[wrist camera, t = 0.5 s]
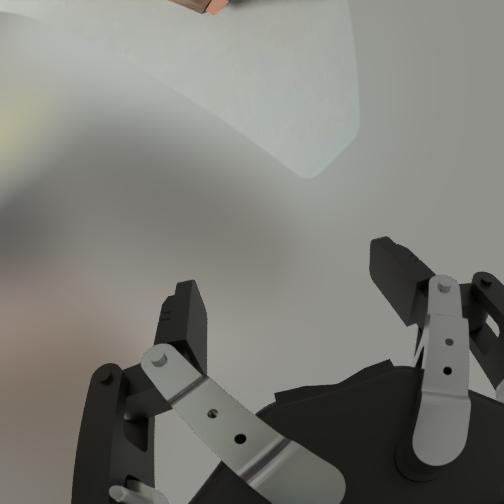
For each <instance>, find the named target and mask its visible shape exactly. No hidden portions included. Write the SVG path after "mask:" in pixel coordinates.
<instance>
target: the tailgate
mask: <svg viewBox="0 0 504 504" xmlns="http://www.w3.org/2000/svg"><path fill="white" fill-rule="evenodd" d="M229 1H230V0H212V1H211V3H210V4H209V6H208V8H207V9H206V11H207V12H209V13H211V14H213V15H215V14H216V13H217V12H218V11H219V10H220V9H221V8H222V7H224V6H225V5H226V4H227V3H228V2H229Z"/></svg>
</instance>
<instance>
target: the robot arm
mask: <svg viewBox="0 0 504 504" xmlns="http://www.w3.org/2000/svg"><path fill="white" fill-rule="evenodd" d="M369 270H370V276H371V278H372V280H373V282H374V283H375V284H376V286H377V287H378V288H379V290H380V291H381V292H382V294H383V295H384V296H385V298H386V299H387V300H388V302H389V303H390V304H391V306H392V307H393V308H394V310H395V311H396V312H397V314H398V315H399V316H400V318H401V319H402V321H403V322H404V323H405V325H406V326H410V325H412V324H415V323H416V324H417V325H418V328H417V331H416V338H415V345H414V351H413V357H412V363H411V367H410V366H393V364H392V362H391V361H390V359H389V360H386V361H383V362H380V363H378V364H375V365H372V366H369V367H366V368H364V369H362V370H361V371H359V372H357V373H356V374H354V375H352V376H351V377H349V378H347V379H346V380H344V381H342V382H340V383H338V384H333V385H318V386H303V387H299V388H295V389H291V390H287V391H282V392H278V393H274V394H275V399H276V402H274V403H271V404H269V405H267V406H266V407H264V408H263V409H262V410H260V411H258V412H257V413H256V414H255V415H254V414H253V413H252V412H250V411H249V410H248V409H247V408H245V407H244V406H243V405H242V404H240V403H239V402H238V401H237V400H236V399H234V398H233V397H232V396H231V395H230V394H228V393H227V392H226V391H225V390H224V389H223V388H222V387H220V386H219V385H218V384H217V383H216V382H214V380H212V379H211V378H210V377H209V376H207V313H206V309H205V306H204V303H203V301H202V298H201V296H200V292H199V290H198V287H197V284H196V282H195V280H189V281H184V282H179V283H177V286H176V290H175V295H173V296H168V297H167V299H166V300H165V302H164V303H163V304H162V308H161V313H160V314H161V315H160V317H159V322H158V326H157V332H156V336H155V341H154V346H152V347H151V348H149V349H148V350H147V351H146V352H145V353H144V354H143V356H142V358H141V363H139V364H137V365H135V366H132V367H130V368H127V369H124V370H122V369H121V368H120V367H119V366H118V365H116V364H113V363H108V364H105V365H102V366H101V367H99V368H98V369H97V370H96V371H95V372H94V373H93V375H92V378H91V381H90V385H89V390H88V394H87V398H86V402H85V407H84V412H83V417H82V422H81V427H80V432H79V438H78V445H77V451H76V459H75V466H74V475H73V486H72V500H71V504H169V502H168V500H167V498H166V497H165V495H164V494H163V493H161V492H160V491H159V490H156V489H155V483H154V482H155V481H154V427H155V425H154V424H155V415H158V414H161V413H163V412H166V411H168V410H171V409H174V410H175V411H176V412H177V413H178V415H179V416H180V417H181V418H182V419H183V420H184V421H185V423H186V424H187V425H188V426H189V427H190V428H191V429H192V430H193V431H194V433H195V434H196V435H197V436H198V437H199V438H200V439H201V440H202V441H203V442H204V443H205V444H206V445H207V446H208V447H209V448H210V449H211V450H212V451H213V452H214V453H215V454H216V455H217V456H218V457H219V458H220V459H221V462H220V463H219V464H218V466H217V467H216V468H215V470H214V471H213V473H212V474H211V475H210V476H209V478H208V479H207V480H206V482H205V483H204V484H203V486H202V487H201V488H200V489H199V491H198V492H197V493H196V495H195V496H194V497H193V498H192V500H191V501H190V502H189V503H188V504H504V285H503V284H502V283H501V282H500V281H499V280H498V279H496V277H495V276H493V275H492V274H490V273H487V272H477V273H475V274H474V276H473V279H472V282H471V283H467V284H458V282H457V281H456V280H455V279H453V278H452V277H450V276H447V275H436V274H435V273H434V272H432V271H431V270H430V269H429V268H428V267H427V266H426V265H425V264H424V263H423V262H422V261H421V260H419V258H418V257H417V256H414V254H413V253H412V252H411V251H410V250H409V249H408V248H406V247H404V246H401V245H399V244H396V243H394V242H393V241H392V240H391V239H390V238H389V237H387V236H385V237H381V238H377V239H373V240H372V241H371V244H370V266H369ZM488 315H490V316H491V317H492V318H493V319H494V321H495V322H496V323H497V325H498V326H499V331H500V333H499V337H497V336H496V335H495V333H494V332H493V331H492V329H491V328H490V327H489V325H488V324H487V323H486V319H487V317H488ZM469 349H470V350H471V352H472V353H473V355H474V356H475V358H476V360H477V361H478V363H479V364H480V366H481V367H482V369H483V371H484V372H485V374H486V375H487V377H488V378H489V380H490V382H491V384H492V385H493V387H494V389H495V391H496V399H497V400H494V399H491V398H489V397H486V396H484V395H481V394H479V393H476V392H474V391H472V390H469V389H468V384H469Z"/></svg>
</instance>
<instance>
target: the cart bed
mask: <svg viewBox="0 0 504 504" xmlns="http://www.w3.org/2000/svg"><path fill="white" fill-rule="evenodd" d="M169 1H171V2H174V3H177V4H179V5H182V6H184V7H187V8H189V9H191V10H194V11H196V12H198V13H201V14H202V13H203V12H204V10H205V9H206V8H207V6H208V5H209V4H210V2H211V1H212V0H169Z"/></svg>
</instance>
